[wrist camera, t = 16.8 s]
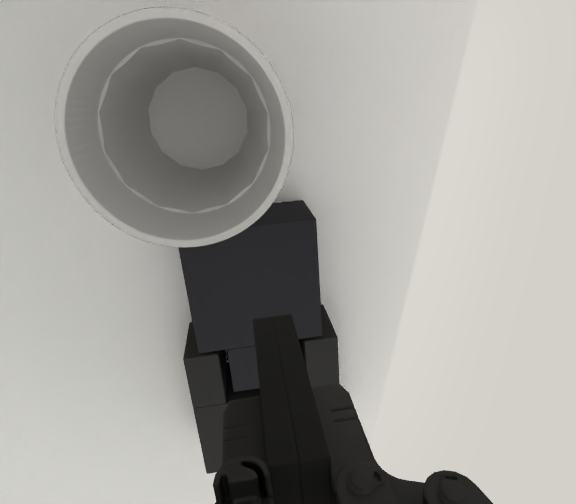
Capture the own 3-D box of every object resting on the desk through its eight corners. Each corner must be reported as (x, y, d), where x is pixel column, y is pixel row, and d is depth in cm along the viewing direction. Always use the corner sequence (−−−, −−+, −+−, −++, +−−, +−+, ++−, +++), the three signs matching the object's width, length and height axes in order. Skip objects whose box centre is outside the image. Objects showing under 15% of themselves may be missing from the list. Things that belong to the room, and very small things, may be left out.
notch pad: (189, 322, 30) (183, 359, 26) (323, 304, 31) (337, 336, 27) (209, 427, 34) (206, 474, 30) (328, 408, 35) (341, 450, 31)
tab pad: (184, 212, 27) (175, 234, 23) (303, 199, 28) (316, 218, 24) (209, 356, 31) (206, 396, 27) (312, 341, 32) (324, 378, 28)
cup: (169, 16, 23) (115, -54, 12) (289, 95, 26) (336, 98, 14) (110, 142, 25) (17, 181, 14) (227, 205, 27) (226, 281, 16)
